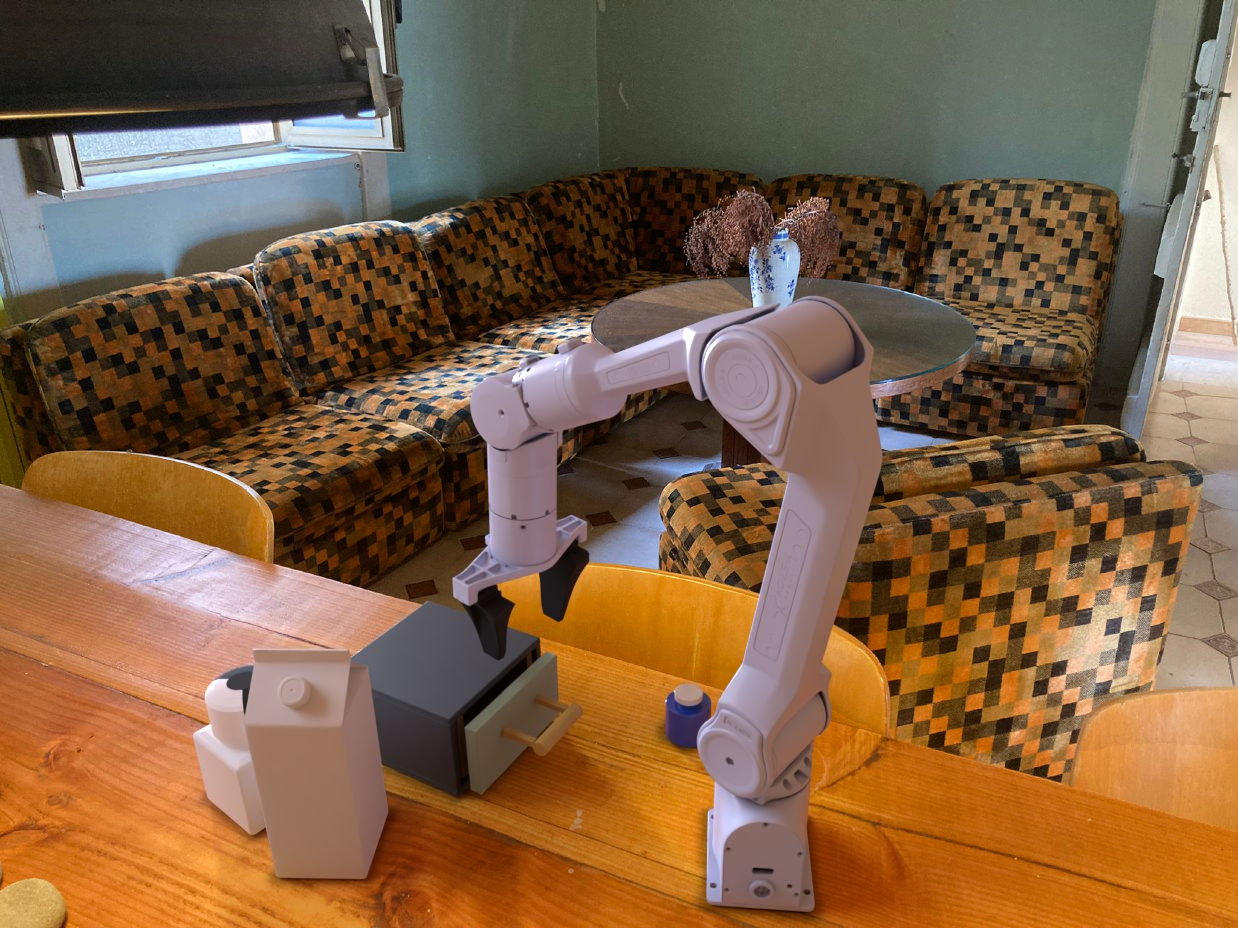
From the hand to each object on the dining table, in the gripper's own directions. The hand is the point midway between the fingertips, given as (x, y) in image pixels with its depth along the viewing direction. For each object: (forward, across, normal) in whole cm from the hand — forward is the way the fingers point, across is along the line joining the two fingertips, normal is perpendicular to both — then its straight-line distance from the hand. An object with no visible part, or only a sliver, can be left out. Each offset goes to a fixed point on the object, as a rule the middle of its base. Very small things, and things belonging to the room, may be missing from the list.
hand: (524, 634), depth 88 cm
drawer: (+9, +5, 0) cm, 10 cm away
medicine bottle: (+11, +21, -10) cm, 26 cm away
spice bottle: (+9, -8, +13) cm, 18 cm away
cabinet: (+10, +6, -5) cm, 13 cm away
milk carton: (+10, +21, -1) cm, 23 cm away
